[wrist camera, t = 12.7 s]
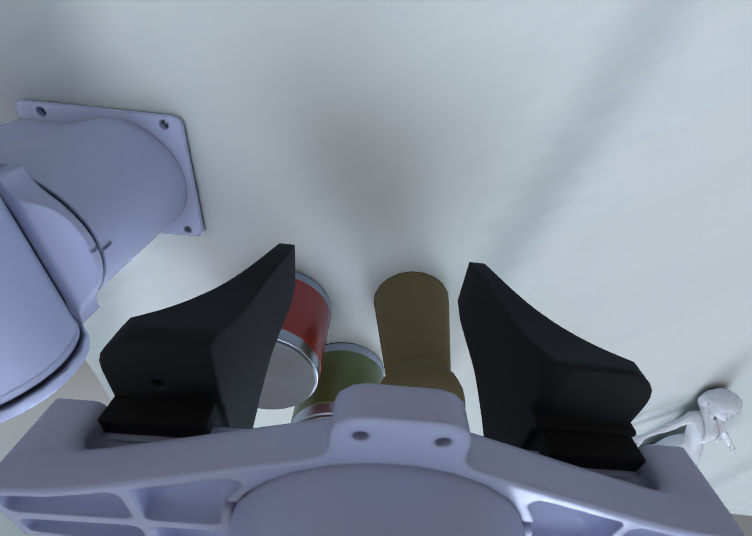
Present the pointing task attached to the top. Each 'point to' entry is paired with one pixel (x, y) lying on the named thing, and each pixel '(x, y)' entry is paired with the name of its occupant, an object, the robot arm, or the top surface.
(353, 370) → the green tin
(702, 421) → the woman figurine
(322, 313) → the red tin
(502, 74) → the top surface
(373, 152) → the top surface
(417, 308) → the cork
